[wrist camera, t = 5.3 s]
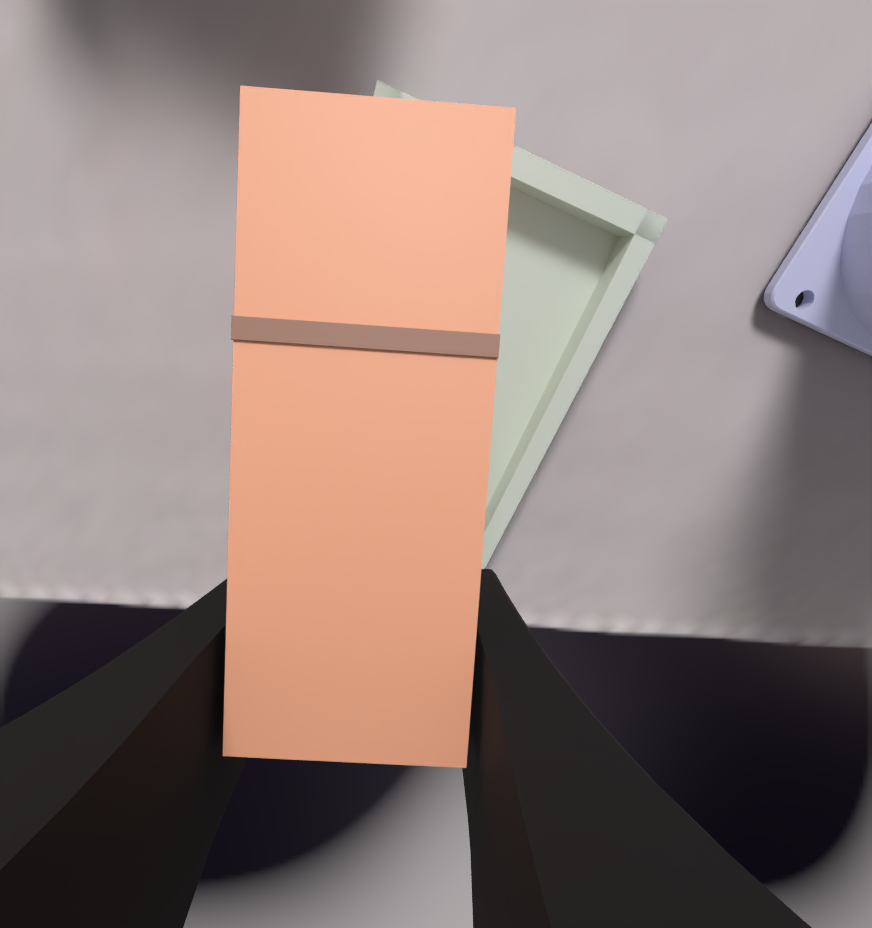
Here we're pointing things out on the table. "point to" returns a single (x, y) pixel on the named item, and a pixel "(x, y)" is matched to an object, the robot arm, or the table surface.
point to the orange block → (361, 422)
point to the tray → (552, 310)
